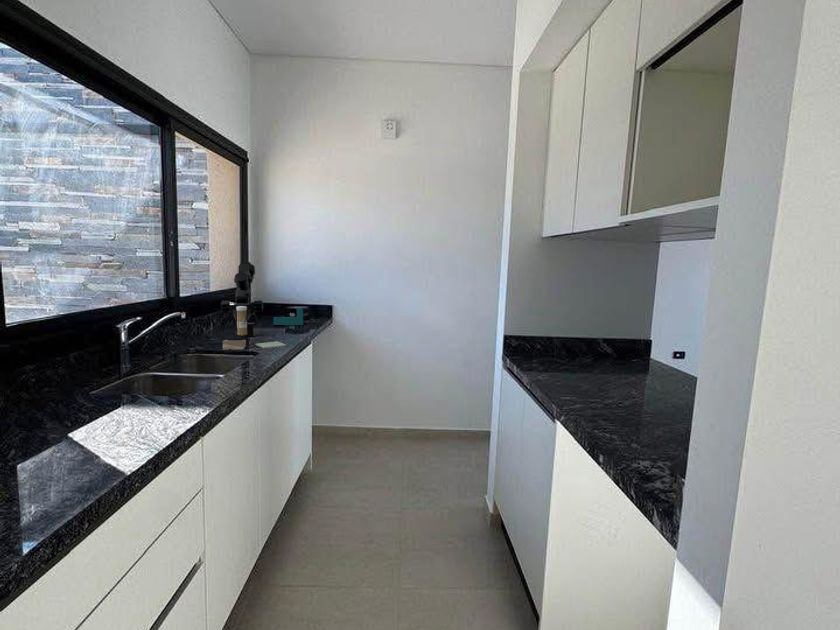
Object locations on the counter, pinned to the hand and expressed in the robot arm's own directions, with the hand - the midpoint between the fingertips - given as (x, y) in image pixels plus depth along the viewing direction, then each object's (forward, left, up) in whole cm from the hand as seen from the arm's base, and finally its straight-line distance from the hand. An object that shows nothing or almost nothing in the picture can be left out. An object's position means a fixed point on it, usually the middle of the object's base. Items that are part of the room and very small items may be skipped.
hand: (241, 320), depth 216 cm
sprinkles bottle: (-1, +1, -7) cm, 7 cm away
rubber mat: (+3, +13, -13) cm, 19 cm away
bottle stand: (-2, -3, -13) cm, 14 cm away
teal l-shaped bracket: (-55, +58, -14) cm, 81 cm away
